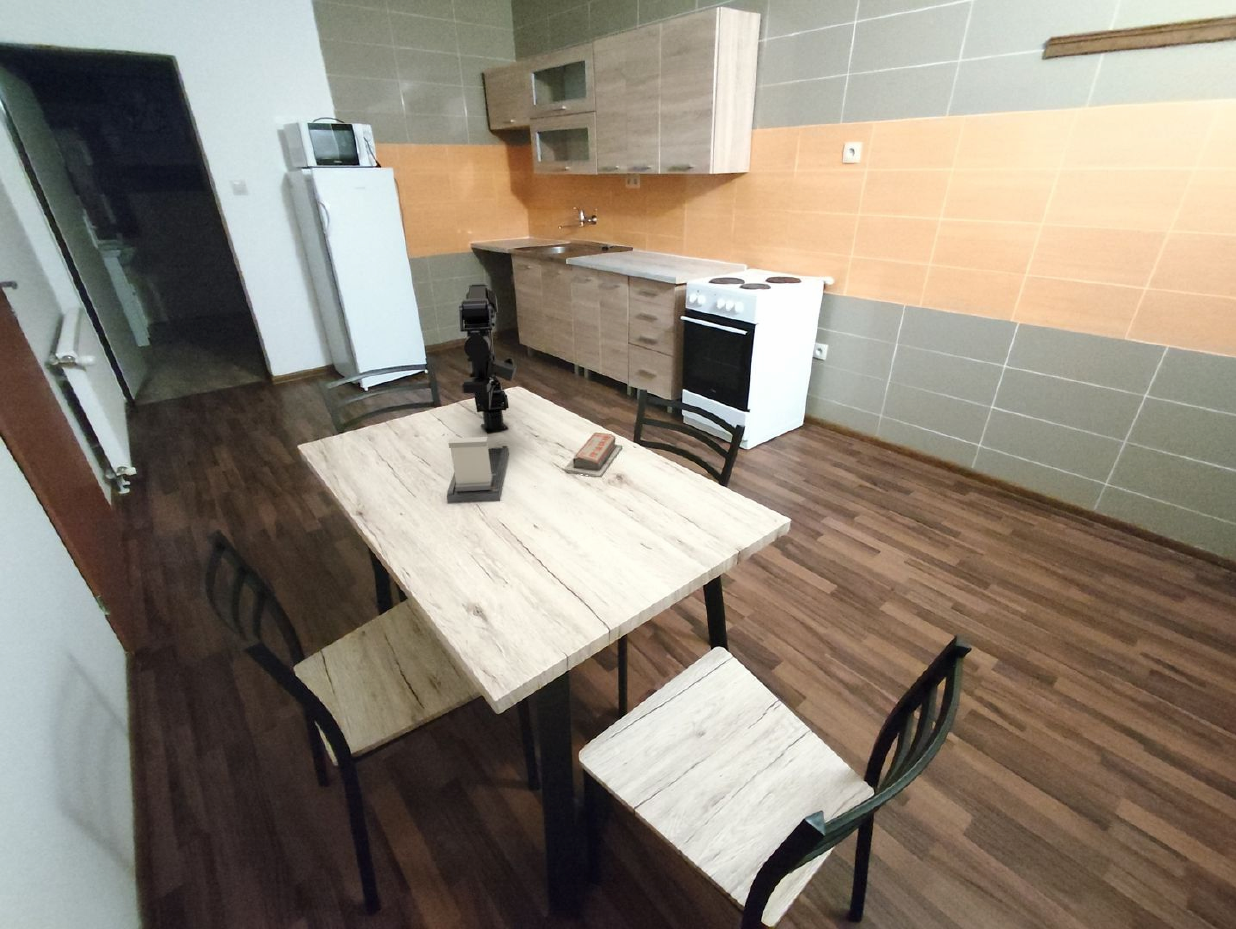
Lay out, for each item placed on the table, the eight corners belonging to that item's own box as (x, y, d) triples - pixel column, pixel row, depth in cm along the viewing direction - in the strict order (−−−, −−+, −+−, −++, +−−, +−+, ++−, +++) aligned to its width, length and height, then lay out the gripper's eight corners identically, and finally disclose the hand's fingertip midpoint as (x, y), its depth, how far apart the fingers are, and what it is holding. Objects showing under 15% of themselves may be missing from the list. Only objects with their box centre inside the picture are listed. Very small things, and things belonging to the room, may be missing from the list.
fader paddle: (458, 480, 136) (451, 436, 131) (494, 479, 137) (488, 434, 131) (455, 491, 132) (447, 445, 126) (491, 489, 132) (485, 443, 127)
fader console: (464, 456, 153) (462, 447, 151) (509, 454, 154) (508, 445, 152) (447, 503, 132) (445, 492, 130) (499, 500, 132) (498, 490, 131)
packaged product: (588, 429, 157) (622, 433, 154) (588, 444, 159) (622, 449, 157) (562, 457, 142) (600, 462, 139) (563, 474, 144) (600, 480, 142)
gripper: (503, 359, 135) (509, 421, 141) (519, 343, 152) (524, 399, 158) (457, 359, 135) (465, 421, 142) (478, 344, 153) (485, 399, 159)
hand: (487, 410), depth 150 cm, fingers closed
